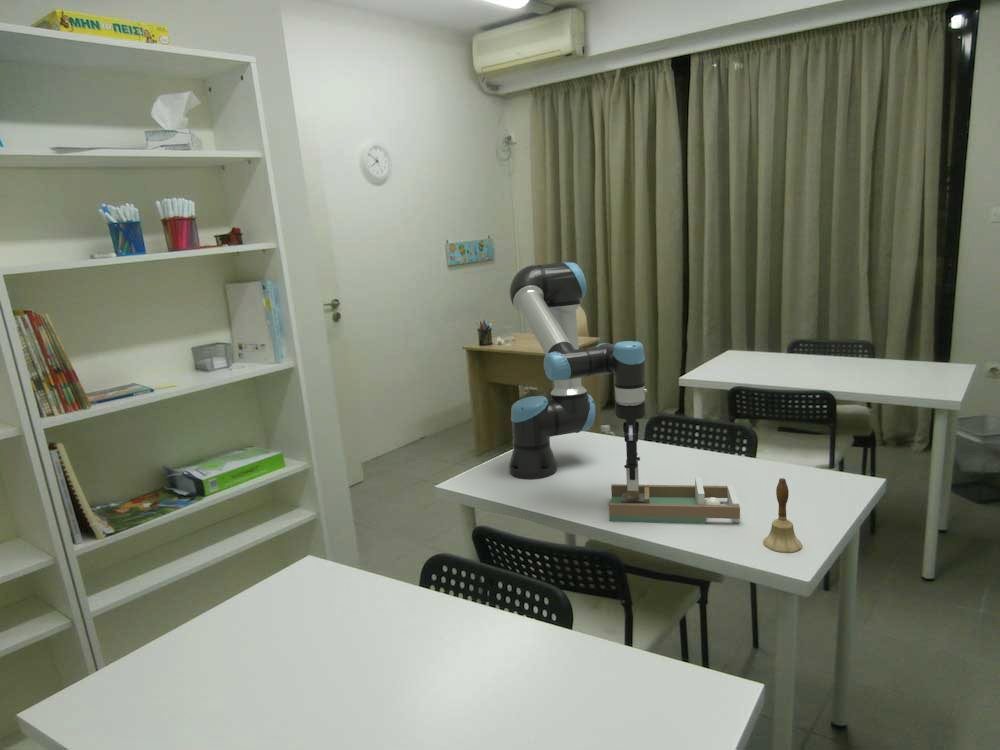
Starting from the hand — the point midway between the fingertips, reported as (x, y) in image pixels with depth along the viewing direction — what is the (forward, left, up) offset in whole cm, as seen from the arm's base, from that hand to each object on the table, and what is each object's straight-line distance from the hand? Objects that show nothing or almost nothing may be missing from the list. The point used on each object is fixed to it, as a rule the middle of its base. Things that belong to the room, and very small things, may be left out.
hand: (633, 487), depth 173 cm
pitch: (+10, 0, -7) cm, 12 cm away
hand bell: (+34, -17, -7) cm, 39 cm away
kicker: (+1, 0, -5) cm, 5 cm away
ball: (+20, 0, -5) cm, 21 cm away
